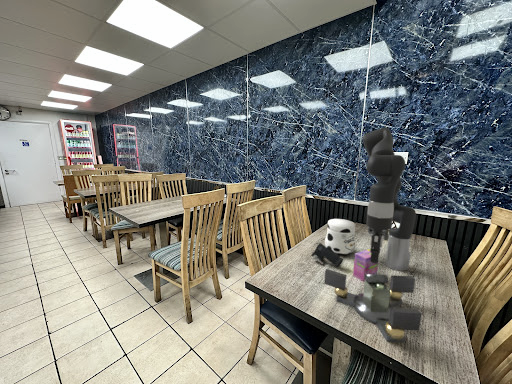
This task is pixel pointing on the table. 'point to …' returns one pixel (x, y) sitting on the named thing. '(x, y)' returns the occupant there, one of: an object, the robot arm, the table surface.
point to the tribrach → (374, 302)
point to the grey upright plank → (336, 282)
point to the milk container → (340, 236)
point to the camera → (383, 231)
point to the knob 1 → (401, 286)
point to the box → (364, 264)
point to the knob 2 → (402, 322)
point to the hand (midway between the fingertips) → (375, 257)
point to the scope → (326, 255)
